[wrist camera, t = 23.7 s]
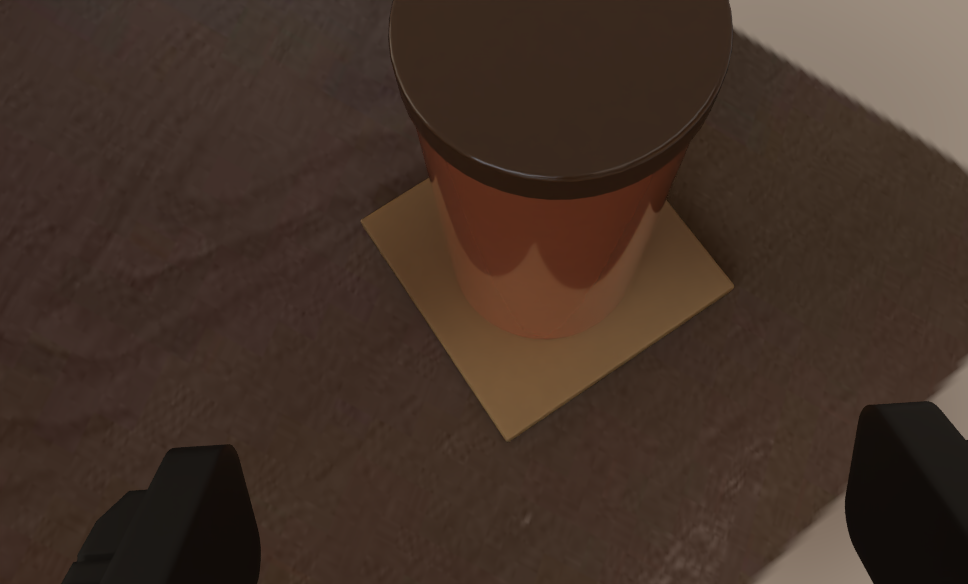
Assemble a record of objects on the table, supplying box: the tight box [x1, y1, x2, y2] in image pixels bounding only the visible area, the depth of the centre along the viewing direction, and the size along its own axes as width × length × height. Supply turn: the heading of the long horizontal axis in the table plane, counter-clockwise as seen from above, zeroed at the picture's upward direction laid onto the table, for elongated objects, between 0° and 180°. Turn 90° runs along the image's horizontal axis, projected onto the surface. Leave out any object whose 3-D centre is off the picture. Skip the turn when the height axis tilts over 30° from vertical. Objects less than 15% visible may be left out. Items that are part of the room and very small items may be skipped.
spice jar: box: [388, 0, 733, 339], centre depth 17 cm, size 5×5×10 cm
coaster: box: [361, 178, 734, 442], centre depth 22 cm, size 7×7×1 cm
